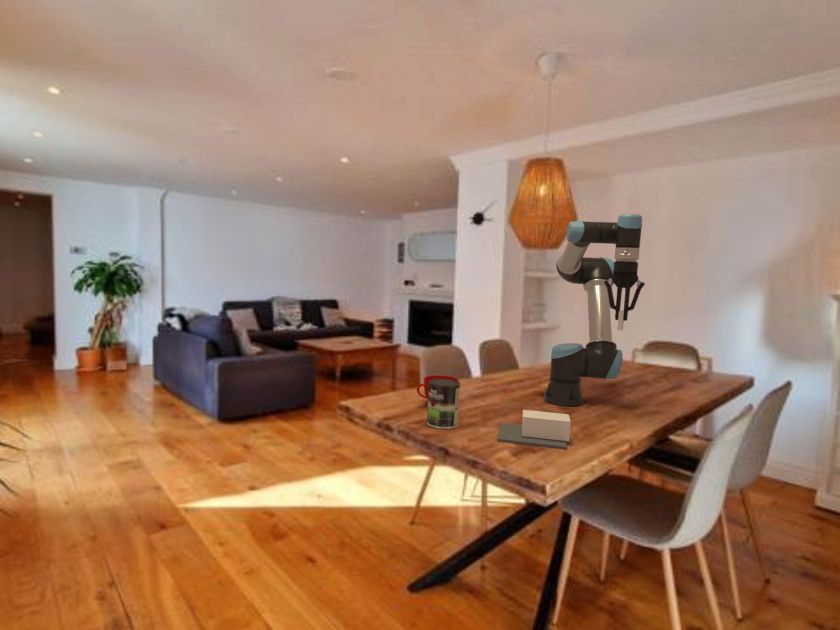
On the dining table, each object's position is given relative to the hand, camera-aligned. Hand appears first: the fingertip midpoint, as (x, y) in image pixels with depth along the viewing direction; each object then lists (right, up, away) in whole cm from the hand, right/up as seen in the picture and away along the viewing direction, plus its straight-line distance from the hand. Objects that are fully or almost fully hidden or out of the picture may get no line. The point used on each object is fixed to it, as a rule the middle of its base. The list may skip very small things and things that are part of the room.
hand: (620, 329), depth 167 cm
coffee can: (-61, -31, -7) cm, 69 cm away
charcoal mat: (-34, -33, -16) cm, 50 cm away
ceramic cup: (-63, -29, +14) cm, 71 cm away
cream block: (-23, -29, -18) cm, 42 cm away
